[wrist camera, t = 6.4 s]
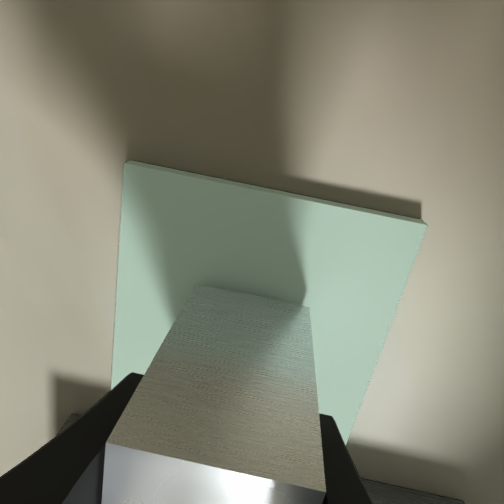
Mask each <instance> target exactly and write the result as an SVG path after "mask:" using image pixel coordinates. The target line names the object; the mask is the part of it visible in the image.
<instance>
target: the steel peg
mask: <svg viewBox="0 0 504 504" xmlns="http://www.w3.org/2000/svg"><path fill="white" fill-rule="evenodd" d="M325 494H326V485H325V474H324V463H323V452H322V440H321V429H320V418H319V407H318V396H317V385H316V373H315V362H314V351H313V340H312V329H311V318H310V307H307V306H302V305H297V304H293V303H288V302H283V301H279V300H274V299H269V298H264V297H260V296H255V295H250V294H246V293H241V292H236V291H231V290H227V289H222V288H217V287H213V286H208V285H203V284H198V283H196V284H195V286H194V288H193V289H192V291H191V293H190V295H189V296H188V298H187V300H186V302H185V303H184V305H183V307H182V309H181V311H180V312H179V314H178V316H177V318H176V319H175V321H174V323H173V325H172V326H171V328H170V330H169V332H168V333H167V335H166V337H165V339H164V341H163V342H162V344H161V346H160V348H159V349H158V351H157V353H156V355H155V356H154V358H153V360H152V362H151V364H150V365H149V367H148V369H147V371H146V372H145V374H144V376H143V378H142V379H141V381H140V383H139V385H138V387H137V388H136V390H135V392H134V394H133V395H132V397H131V399H130V401H129V402H128V404H127V406H126V408H125V409H124V411H123V413H122V415H121V417H120V418H119V420H118V422H117V424H116V425H115V427H114V429H113V431H112V432H111V434H110V436H109V438H108V440H107V441H106V446H105V460H104V475H103V489H102V503H101V504H322V503H323V500H324V497H325Z"/></svg>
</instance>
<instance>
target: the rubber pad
mask: <svg viewBox="0 0 504 504" xmlns="http://www.w3.org/2000/svg"><path fill="white" fill-rule="evenodd" d="M427 226H428V225H427V224H426V223H425V222H424V221H423V220H421V219H416V218H411V217H406V216H401V215H396V214H391V213H387V212H382V211H377V210H372V209H367V208H362V207H357V206H352V205H347V204H342V203H337V202H333V201H328V200H323V199H318V198H313V197H308V196H303V195H298V194H293V193H288V192H284V191H279V190H274V189H269V188H264V187H259V186H254V185H249V184H244V183H239V182H234V181H230V180H225V179H220V178H215V177H210V176H205V175H200V174H195V173H190V172H185V171H181V170H176V169H171V168H166V167H161V166H156V165H151V164H146V163H141V162H136V161H128V162H125V163H124V169H123V187H122V205H121V222H120V240H119V257H118V275H117V292H116V310H115V328H114V345H113V363H112V380H111V390H112V389H113V388H114V387H115V386H116V385H117V384H118V383H119V382H120V381H121V380H123V379H124V378H125V377H126V376H127V375H128V374H130V373H132V372H134V373H138V374H143V375H144V374H145V372H146V371H147V369H148V367H149V365H150V364H151V362H152V360H153V358H154V356H155V355H156V353H157V351H158V349H159V348H160V346H161V344H162V342H163V341H164V339H165V337H166V335H167V333H168V332H169V330H170V328H171V326H172V325H173V323H174V321H175V319H176V318H177V316H178V314H179V312H180V311H181V309H182V307H183V305H184V303H185V302H186V300H187V298H188V296H189V295H190V293H191V291H192V289H193V288H194V286H195V284H196V283H198V284H203V285H208V286H213V287H217V288H222V289H227V290H231V291H236V292H241V293H246V294H250V295H255V296H260V297H264V298H269V299H274V300H279V301H283V302H288V303H293V304H297V305H302V306H307V307H310V318H311V329H312V340H313V351H314V362H315V373H316V385H317V396H318V407H319V413H320V414H325V415H330V416H332V417H333V418H334V420H335V422H336V424H337V427H338V429H339V431H340V434H341V436H342V438H343V441H344V443H345V445H346V444H347V441H348V438H349V436H350V433H351V430H352V428H353V425H354V422H355V420H356V417H357V414H358V411H359V409H360V406H361V403H362V401H363V398H364V395H365V393H366V390H367V387H368V385H369V382H370V379H371V376H372V374H373V371H374V368H375V366H376V363H377V360H378V358H379V355H380V352H381V350H382V347H383V344H384V341H385V339H386V336H387V333H388V331H389V328H390V325H391V323H392V320H393V317H394V315H395V312H396V309H397V306H398V304H399V301H400V298H401V296H402V293H403V290H404V288H405V285H406V282H407V280H408V277H409V274H410V272H411V269H412V266H413V263H414V261H415V258H416V255H417V253H418V250H419V247H420V245H421V242H422V239H423V237H424V234H425V231H426V228H427Z"/></svg>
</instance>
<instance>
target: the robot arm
mask: <svg viewBox="0 0 504 504" xmlns="http://www.w3.org/2000/svg"><path fill="white" fill-rule="evenodd" d="M143 376H144V375H143V374H138V373H134V372H132V373H130V374H128V375H127V376H126V377H125V378H124V379H123V380H121V381H120V382H119V383H118V384H117V385H116V386H115V387H114V388H113V389H112V390H111V391H109V392H108V393H107V394H106V395H105V396H104V397H103V398H102V399H100V400H99V401H98V402H97V403H96V404H95V405H94V406H92V407H91V408H90V409H89V410H88V411H87V412H85V413H84V414H83V415H82V416H80V417H79V418H78V419H77V420H76V421H74V422H73V423H72V424H71V425H70V426H68V427H67V428H66V429H65V430H63V431H62V432H61V433H60V434H58V435H57V436H56V437H54V438H53V439H52V440H50V441H49V442H48V443H46V444H45V445H44V446H42V447H41V448H40V449H39V450H37V451H36V452H35V453H33V454H32V455H31V456H29V457H28V458H27V459H25V460H24V461H22V462H21V463H20V464H18V465H17V466H15V467H14V468H12V469H11V470H10V471H8V472H7V473H5V474H4V475H2V476H1V477H0V504H101V503H102V489H103V475H104V460H105V446H106V441H107V440H108V438H109V436H110V434H111V432H112V431H113V429H114V427H115V425H116V424H117V422H118V420H119V418H120V417H121V415H122V413H123V411H124V409H125V408H126V406H127V404H128V402H129V401H130V399H131V397H132V395H133V394H134V392H135V390H136V388H137V387H138V385H139V383H140V381H141V379H142V378H143ZM319 418H320V429H321V440H322V452H323V463H324V474H325V485H326V494H325V497H324V500H323V503H322V504H373V502H372V500H371V498H370V496H369V494H368V492H367V490H366V488H365V486H364V484H363V482H362V480H361V478H360V476H359V474H358V472H357V470H356V467H355V465H354V463H353V461H352V459H351V457H350V454H349V452H348V450H347V448H346V445H345V443H344V441H343V438H342V436H341V434H340V431H339V429H338V427H337V424H336V422H335V420H334V418H333V417H332V416H330V415H325V414H320V413H319Z"/></svg>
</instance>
